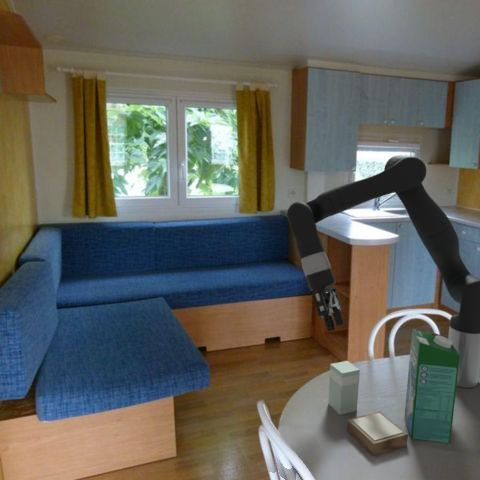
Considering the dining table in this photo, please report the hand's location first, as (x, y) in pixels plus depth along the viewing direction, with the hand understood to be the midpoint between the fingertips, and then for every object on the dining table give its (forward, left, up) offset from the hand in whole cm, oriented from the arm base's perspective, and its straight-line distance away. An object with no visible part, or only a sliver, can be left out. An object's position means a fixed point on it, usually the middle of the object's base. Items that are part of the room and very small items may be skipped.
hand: (336, 327), depth 116 cm
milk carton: (-15, +20, -22) cm, 33 cm away
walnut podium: (-1, +18, -22) cm, 28 cm away
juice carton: (-1, +4, -22) cm, 22 cm away
